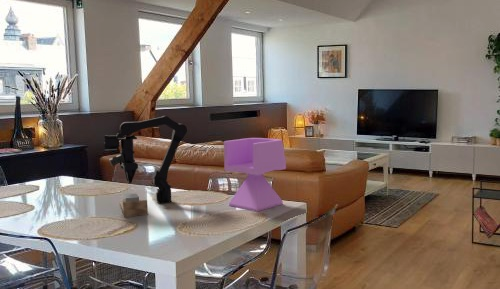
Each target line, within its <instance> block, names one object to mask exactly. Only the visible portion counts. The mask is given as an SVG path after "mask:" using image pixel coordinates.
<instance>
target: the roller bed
mask: <svg viewBox="0 0 500 289" xmlns="http://www.w3.org/2000/svg"><path fill="white" fill-rule="evenodd" d="M141 200H142V199H139V201H141ZM123 202H125V200H124V198H123V197H122V201H119V207H120V210H121V213H122V216H124V213H123V212H124V211H123Z"/></svg>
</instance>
